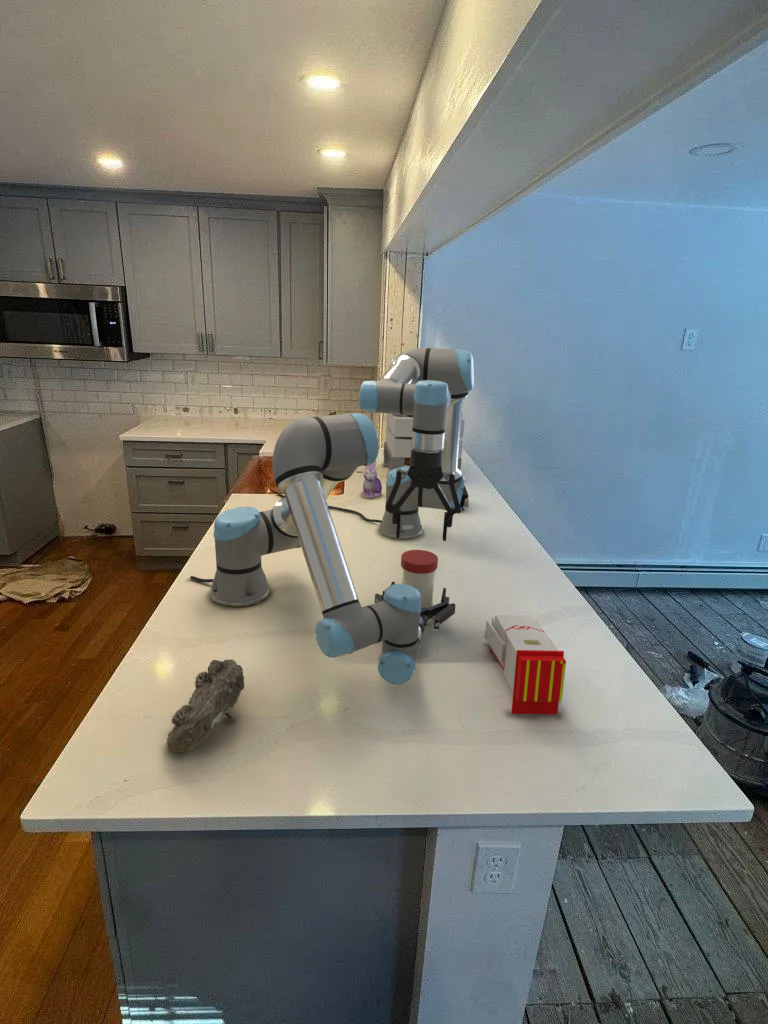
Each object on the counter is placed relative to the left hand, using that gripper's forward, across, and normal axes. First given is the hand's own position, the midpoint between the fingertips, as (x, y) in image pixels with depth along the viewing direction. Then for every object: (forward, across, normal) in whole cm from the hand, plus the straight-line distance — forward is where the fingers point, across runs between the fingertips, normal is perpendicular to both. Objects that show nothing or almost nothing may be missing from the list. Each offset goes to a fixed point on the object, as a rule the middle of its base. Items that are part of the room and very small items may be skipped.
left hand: (418, 589), depth 147 cm
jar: (-3, 0, -6) cm, 7 cm away
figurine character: (+88, +5, -6) cm, 88 cm away
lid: (-3, 0, +10) cm, 11 cm away
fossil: (-50, -33, -6) cm, 60 cm away
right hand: (-3, 0, +16) cm, 16 cm away
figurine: (+92, -32, -6) cm, 97 cm away
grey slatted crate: (+133, -17, -6) cm, 134 cm away
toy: (-22, +25, -6) cm, 34 cm away
